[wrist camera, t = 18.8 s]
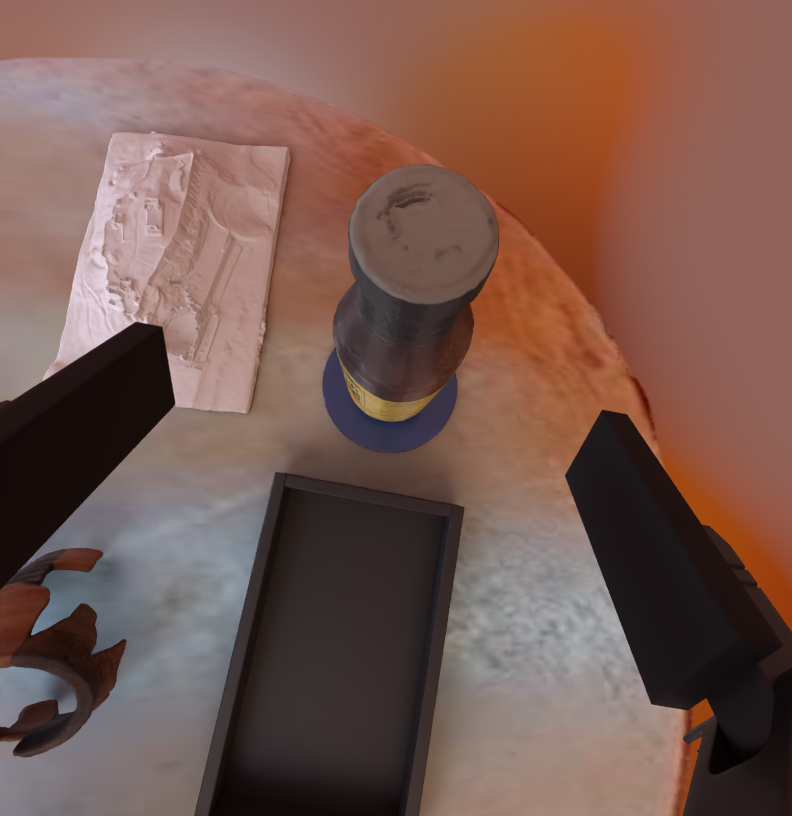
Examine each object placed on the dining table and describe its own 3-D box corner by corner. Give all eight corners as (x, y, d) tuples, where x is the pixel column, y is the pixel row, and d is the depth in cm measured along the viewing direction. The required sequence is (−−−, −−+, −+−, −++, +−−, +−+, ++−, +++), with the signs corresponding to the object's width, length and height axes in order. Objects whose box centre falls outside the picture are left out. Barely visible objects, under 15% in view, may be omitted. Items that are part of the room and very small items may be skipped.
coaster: (310, 439, 30) (308, 438, 29) (338, 312, 31) (337, 309, 31) (444, 464, 30) (445, 464, 29) (464, 337, 32) (466, 334, 31)
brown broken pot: (153, 536, 28) (107, 632, 21) (151, 643, 31) (111, 764, 23) (-72, 537, 25) (-226, 656, 17) (-52, 659, 27) (-179, 809, 20)
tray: (207, 801, 25) (188, 840, 23) (283, 472, 29) (274, 471, 26) (405, 834, 26) (409, 876, 23) (456, 504, 29) (464, 507, 27)
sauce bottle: (355, 337, 31) (326, 85, 11) (437, 349, 31) (551, 123, 11) (341, 422, 29) (281, 309, 10) (426, 435, 30) (533, 348, 10)
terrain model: (63, 421, 30) (0, 413, 25) (82, 137, 33) (29, 79, 28) (292, 414, 31) (276, 405, 26) (290, 138, 34) (275, 82, 29)
